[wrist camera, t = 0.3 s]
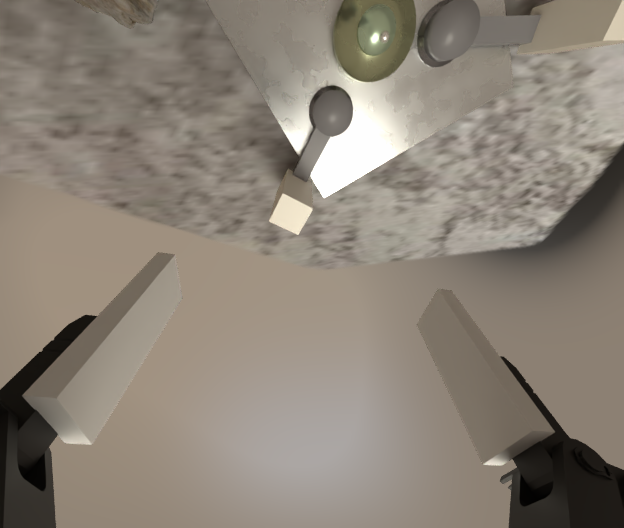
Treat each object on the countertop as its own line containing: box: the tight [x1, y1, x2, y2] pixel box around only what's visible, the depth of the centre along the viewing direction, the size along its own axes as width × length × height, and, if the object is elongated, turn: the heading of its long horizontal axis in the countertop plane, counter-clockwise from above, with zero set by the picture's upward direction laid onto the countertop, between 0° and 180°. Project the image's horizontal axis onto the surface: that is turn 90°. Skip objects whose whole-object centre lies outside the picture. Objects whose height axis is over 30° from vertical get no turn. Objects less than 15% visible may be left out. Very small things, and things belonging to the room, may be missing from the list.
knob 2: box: [423, 0, 624, 62], centre depth 20 cm, size 13×4×9 cm, turn 91°
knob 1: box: [269, 90, 353, 235], centre depth 25 cm, size 13×4×9 cm, turn 151°
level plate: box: [205, 0, 513, 198], centre depth 23 cm, size 23×23×6 cm
